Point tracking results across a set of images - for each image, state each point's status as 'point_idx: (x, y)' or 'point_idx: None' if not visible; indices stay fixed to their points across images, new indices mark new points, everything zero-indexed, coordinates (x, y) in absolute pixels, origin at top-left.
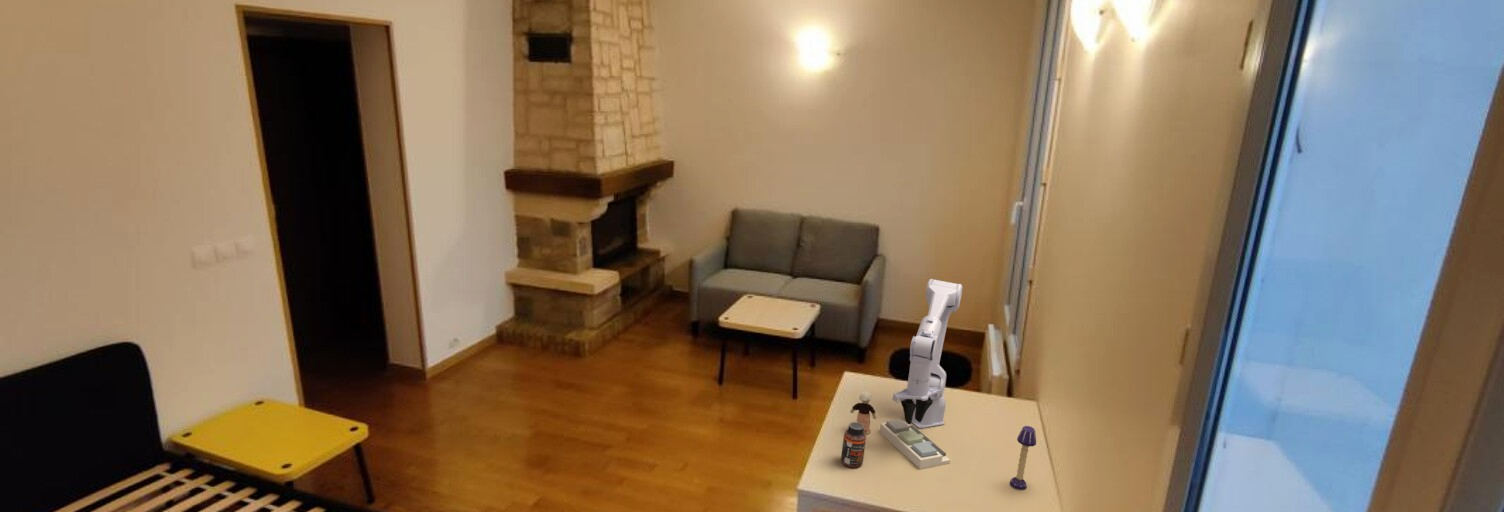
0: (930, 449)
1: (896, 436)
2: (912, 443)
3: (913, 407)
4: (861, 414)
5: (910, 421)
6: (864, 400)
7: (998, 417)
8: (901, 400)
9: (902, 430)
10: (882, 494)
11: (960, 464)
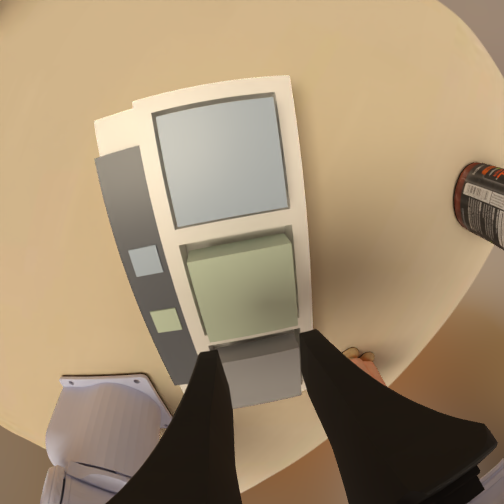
0: (195, 129)
1: (304, 308)
2: (257, 240)
3: (427, 449)
4: None
5: (320, 341)
6: None
7: None
8: (498, 466)
9: (255, 347)
10: (451, 25)
11: (61, 115)
